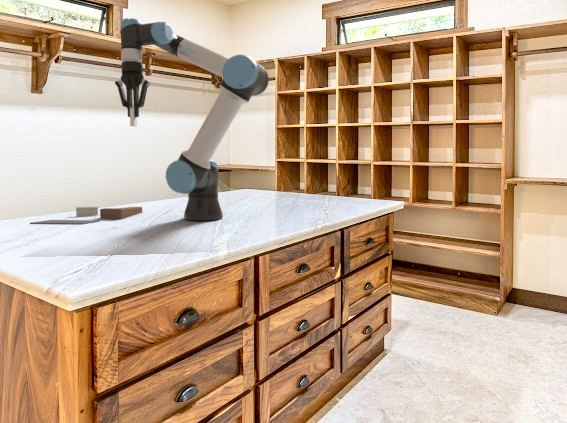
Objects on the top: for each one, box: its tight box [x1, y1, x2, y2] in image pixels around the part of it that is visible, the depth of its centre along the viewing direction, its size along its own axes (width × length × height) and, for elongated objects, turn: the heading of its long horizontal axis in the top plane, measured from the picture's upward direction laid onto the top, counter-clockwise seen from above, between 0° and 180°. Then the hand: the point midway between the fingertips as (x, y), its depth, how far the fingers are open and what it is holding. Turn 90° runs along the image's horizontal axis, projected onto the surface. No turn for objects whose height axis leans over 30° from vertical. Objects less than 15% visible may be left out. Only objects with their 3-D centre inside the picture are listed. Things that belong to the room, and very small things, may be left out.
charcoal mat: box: [29, 219, 102, 225], centre depth 176 cm, size 20×13×1 cm, turn 83°
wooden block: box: [99, 206, 143, 220], centre depth 194 cm, size 9×4×18 cm
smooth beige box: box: [75, 205, 99, 218], centre depth 196 cm, size 8×8×5 cm
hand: (133, 125), depth 179 cm, fingers closed
